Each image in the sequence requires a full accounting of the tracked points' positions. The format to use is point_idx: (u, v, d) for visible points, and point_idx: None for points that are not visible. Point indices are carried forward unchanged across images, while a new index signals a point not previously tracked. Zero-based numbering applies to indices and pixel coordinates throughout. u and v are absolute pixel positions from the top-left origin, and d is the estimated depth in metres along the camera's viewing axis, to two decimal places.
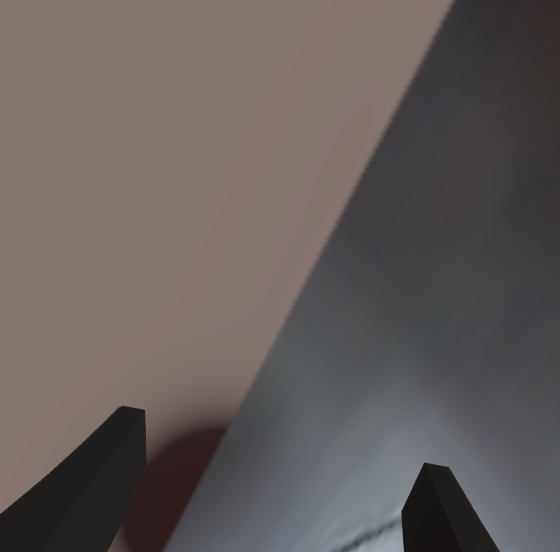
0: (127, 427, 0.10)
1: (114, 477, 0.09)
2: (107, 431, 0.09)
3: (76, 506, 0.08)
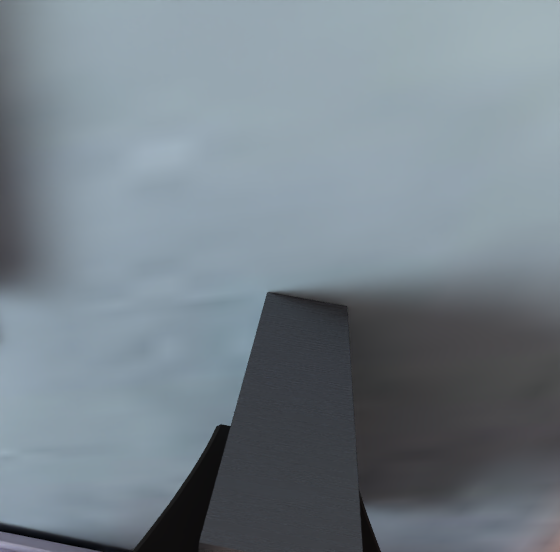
0: None
1: None
2: (217, 452, 0.09)
3: None
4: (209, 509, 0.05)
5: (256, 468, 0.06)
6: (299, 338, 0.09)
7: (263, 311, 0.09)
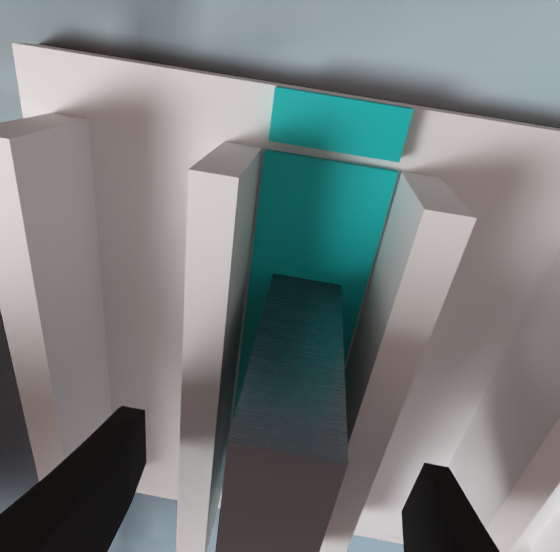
0: (127, 427, 0.10)
1: (114, 477, 0.09)
2: (107, 431, 0.09)
3: (76, 506, 0.08)
4: (234, 421, 0.07)
5: (268, 397, 0.08)
6: (300, 308, 0.11)
7: (270, 287, 0.11)
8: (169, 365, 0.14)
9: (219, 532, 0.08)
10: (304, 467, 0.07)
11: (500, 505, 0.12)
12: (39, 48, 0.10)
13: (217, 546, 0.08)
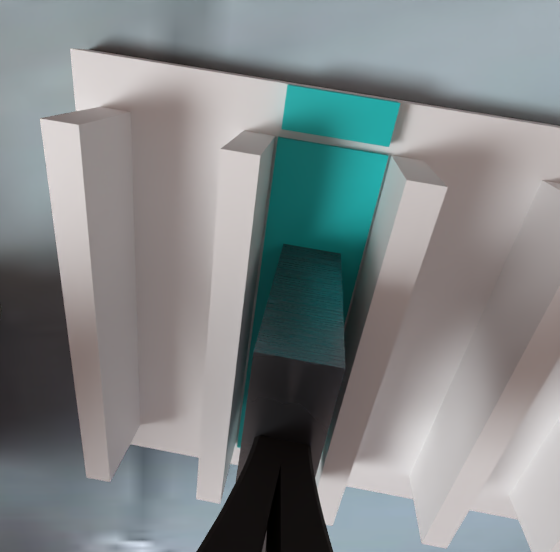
0: (277, 455, 0.09)
1: (271, 507, 0.09)
2: (260, 460, 0.09)
3: (262, 543, 0.08)
4: (257, 340, 0.09)
5: (283, 326, 0.10)
6: (307, 269, 0.13)
7: (281, 253, 0.13)
8: (191, 328, 0.17)
9: (243, 435, 0.10)
10: (311, 372, 0.09)
11: (476, 439, 0.14)
12: (93, 53, 0.12)
13: (241, 448, 0.10)
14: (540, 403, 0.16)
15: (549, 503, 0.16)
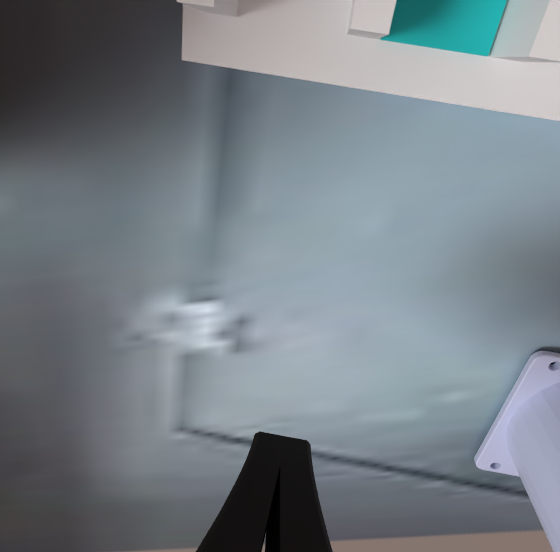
0: (276, 455, 0.09)
1: (270, 507, 0.09)
2: (260, 460, 0.09)
3: (262, 543, 0.08)
4: None
5: None
6: None
7: None
8: None
9: None
10: None
11: None
12: None
13: None
14: None
15: None
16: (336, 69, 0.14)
